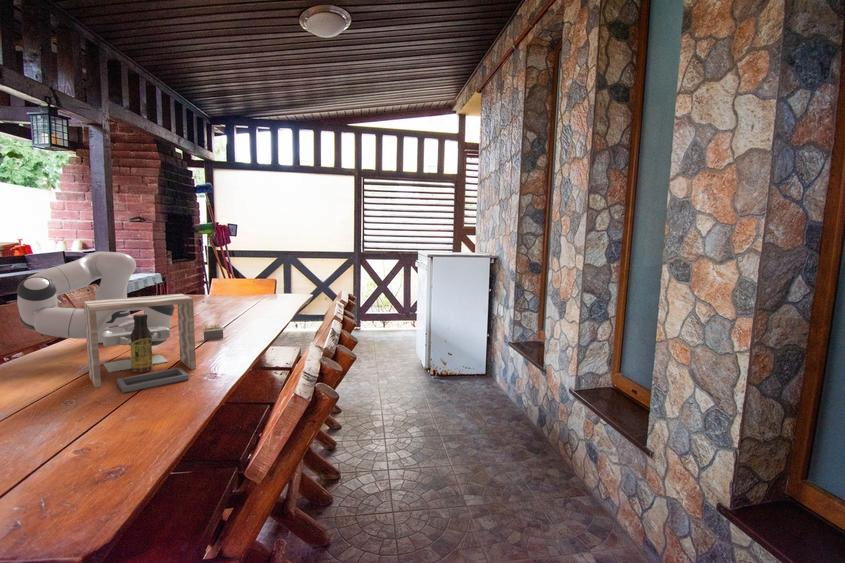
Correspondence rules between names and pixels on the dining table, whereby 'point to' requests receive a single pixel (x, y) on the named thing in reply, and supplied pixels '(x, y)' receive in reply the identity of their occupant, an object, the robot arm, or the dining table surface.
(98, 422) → the dining table surface
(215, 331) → the platform
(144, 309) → the robot arm
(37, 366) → the dining table surface
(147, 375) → the tray
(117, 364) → the pad
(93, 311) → the tunnel
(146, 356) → the sauce bottle
